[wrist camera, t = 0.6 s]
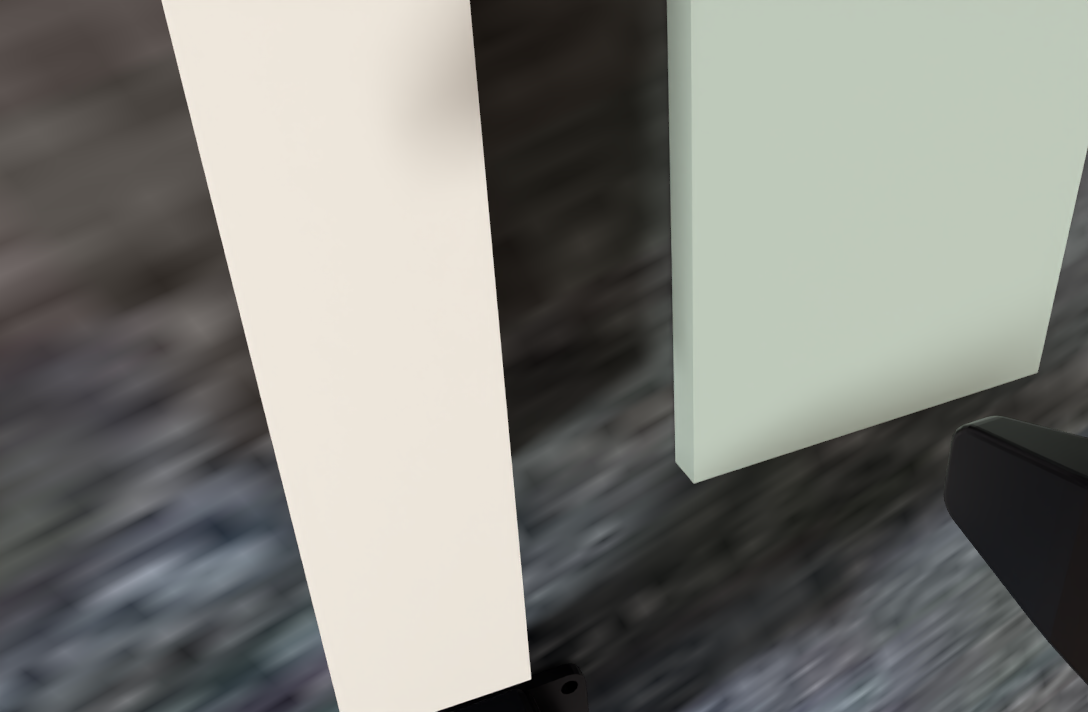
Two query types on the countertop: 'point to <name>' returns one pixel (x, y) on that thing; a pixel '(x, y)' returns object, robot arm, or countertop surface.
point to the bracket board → (862, 209)
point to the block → (370, 325)
